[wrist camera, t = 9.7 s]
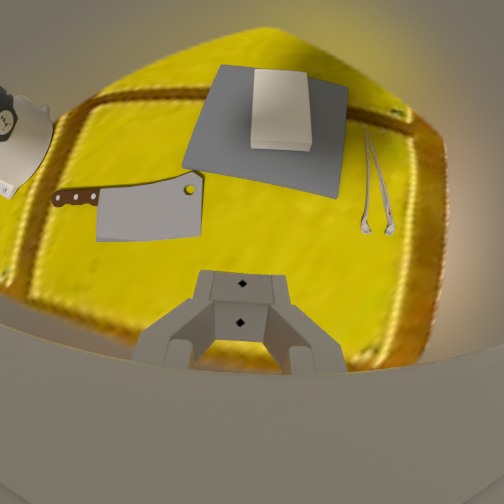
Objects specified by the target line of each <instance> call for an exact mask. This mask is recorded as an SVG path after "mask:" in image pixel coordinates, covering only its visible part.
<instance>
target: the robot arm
mask: <svg viewBox="0 0 504 504" xmlns="http://www.w3.org/2000/svg"><path fill="white" fill-rule="evenodd" d="M52 132H53V125H52V121H51V120H50V118H49V107H48V106H47V105H43V106H41V107H38V106H36V105H35V104H34V103H33V102H31V101H30V100H28V99H27V98H26V97H24V96H22V95H19V96H16V97H13V96H12V95H11V94H10V93H9V92H8V91H7V90H6V89H4V88H2V87H1V86H0V194H1V195H3V196H4V197H5V198H7V199H11V198H12V196H13V195H14V194H15V192H16V191H17V189H18V188H19V187H20V186H21V185H22V184H23V183H24V182H26V181H27V180H28V179H29V178H30V177H31V176H32V174H33V173H34V172H35V171H36V169H37V168H38V166H39V165H40V163H41V161H42V160H43V158H44V156H45V154H46V152H47V149H48V147H49V144H50V141H51V137H52ZM215 340H235V341H249V342H263V344H264V346H265V347H266V348H267V350H268V351H269V353H270V354H271V355H272V357H273V358H274V359H275V361H276V362H277V363H278V365H279V366H280V368H281V369H282V370H283V371H282V374H281V375H267V374H240V373H224V372H211V371H201V370H195V362H196V361H197V360H198V359H199V358H200V357H201V356H202V354H203V353H204V352H205V351H206V350H207V349H208V348H209V347H210V345H211V344H212V343H213V342H214V341H215ZM0 504H504V344H502V345H499V346H495V347H492V348H488V349H485V350H481V351H477V352H473V353H469V354H465V355H461V356H457V357H453V358H448V359H443V360H438V361H433V362H427V363H422V364H416V365H409V366H403V367H396V368H388V369H380V370H371V371H360V372H348V371H347V368H346V364H345V360H344V357H343V353H342V350H341V346H340V344H338V343H337V342H336V341H335V340H334V339H333V338H332V337H330V336H329V335H328V334H327V333H326V332H325V331H324V330H322V329H321V328H320V327H319V326H318V325H317V324H316V323H315V322H313V321H312V320H311V319H310V318H309V317H308V316H307V315H306V314H304V313H303V312H302V311H301V310H300V309H299V308H298V307H296V306H295V305H291V303H290V297H289V291H288V286H287V280H286V276H285V275H260V274H243V273H234V272H223V271H212V270H200V272H199V276H198V279H197V283H196V287H195V291H194V295H193V299H190V298H189V299H187V300H186V301H184V302H183V303H182V304H180V305H179V306H177V307H176V308H175V309H173V310H172V311H170V312H169V313H168V314H166V315H165V316H163V317H162V318H161V319H159V320H158V321H157V322H155V323H154V324H152V325H151V326H150V327H148V328H147V329H145V330H144V331H143V332H141V333H140V336H139V339H138V341H137V344H136V347H135V349H134V353H133V355H132V358H131V361H130V360H125V359H120V358H115V357H110V356H105V355H101V354H97V353H92V352H88V351H84V350H80V349H76V348H73V347H69V346H65V345H62V344H58V343H55V342H52V341H48V340H45V339H42V338H39V337H36V336H33V335H30V334H27V333H24V332H21V331H19V330H16V329H13V328H10V327H8V326H5V325H2V324H0Z"/></svg>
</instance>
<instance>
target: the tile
mask: <svg viewBox="0 0 504 504" xmlns="http://www.w3.org/2000/svg"><path fill="white" fill-rule="evenodd" d="M311 145H312V134H311V117H310V104H309V92H308V81H307V72H299V71H286V70H268V69H255V74H254V90H253V107H252V123H251V148H256V149H279V150H295V151H308V152H309V151H310V148H311Z"/></svg>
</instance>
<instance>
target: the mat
mask: <svg viewBox="0 0 504 504" xmlns="http://www.w3.org/2000/svg"><path fill="white" fill-rule="evenodd" d="M255 69H258V68H250V67H241V66H231V65H221V66H220V68H219V70H218V72H217V74H216V77H215V79H214V81H213V84H212V86H211V88H210V91H209V93H208V96H207V98H206V100H205V103H204V105H203V108H202V110H201V113H200V116H199V118H198V121H197V123H196V126H195V129H194V131H193V134H192V137H191V140H190V142H189V145H188V148H187V151H186V154H185V157H184V160H183V163H182V168H183V169H190V170H197V171H203V172H209V173H215V174H221V175H227V176H232V177H238V178H243V179H248V180H253V181H258V182H263V183H268V184H273V185H278V186H282V187H287V188H291V189H296V190H300V191H305V192H309V193H313V194H317V195H321V196H325V197H329V198H333V199H337V198H338V192H339V184H340V176H341V168H342V159H343V149H344V138H345V127H346V113H347V97H348V87H344V86H341V85H337V84H333V83H329V82H326V81H321V80H317V79H313V78H309V77H307V81H308V92H309V104H310V117H311V134H312V145H311V148H310V151H309V152H308V151H295V150H279V149H256V148H251V123H252V107H253V90H254V74H255Z"/></svg>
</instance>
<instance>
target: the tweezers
mask: <svg viewBox="0 0 504 504" xmlns="http://www.w3.org/2000/svg"><path fill="white" fill-rule="evenodd" d="M364 130H365V128H364ZM368 135H369V132H368ZM369 140H370V147H371V150H372V153H373V156H374V160H375V164H376V168H377V171H378V176H379V180H380V188H381V193H382V198H383V204H384V208H385V213H386V218H387V224H388V227H387V229H386V232H385V235H390V236H391V235H392V234H393V233H394V230H395V224H394V221H393V217H392V213H391V207H390V201H389V196H388V193H387V189H386V186H385V183H384V180H383V177H382V173H381V170H380V167H379V165H378V161H377V158H376V155H375V151H374V149H373V145H372V142H371V139H370V136H369ZM365 141H366V153H367V191H366V202H365V212H364V217H363V220H362V223H361V230H362V233H363V234H371V233H372V232H371V231H370V229H369V226H368V224H367V222H366V218H367V215H368V206H369V179H370V176H369V171H370V170H369V168H370V165H369V152H368V144H367V137H366V131H365ZM388 209H389V210H390V215H389V213H388Z"/></svg>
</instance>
